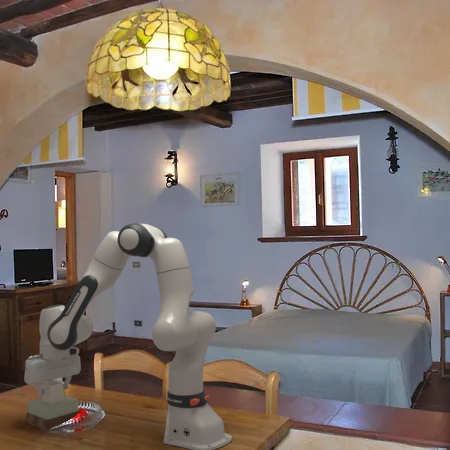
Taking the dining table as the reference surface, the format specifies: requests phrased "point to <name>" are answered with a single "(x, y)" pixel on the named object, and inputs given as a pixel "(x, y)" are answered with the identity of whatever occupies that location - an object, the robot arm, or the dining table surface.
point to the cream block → (52, 392)
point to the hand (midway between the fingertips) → (53, 391)
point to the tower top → (52, 407)
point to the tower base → (49, 423)
